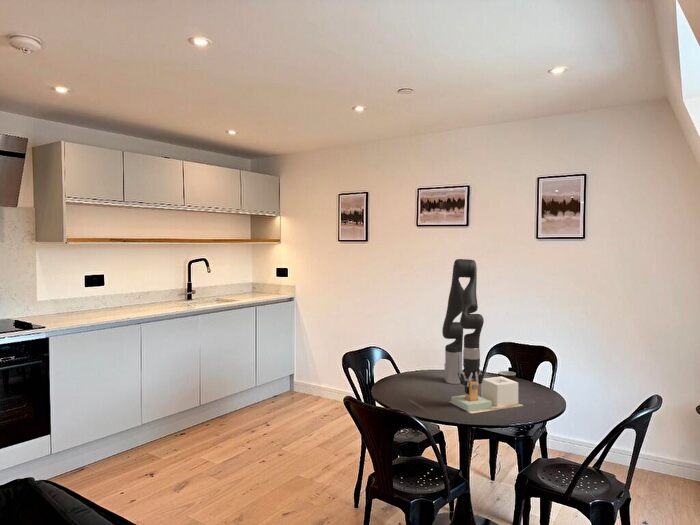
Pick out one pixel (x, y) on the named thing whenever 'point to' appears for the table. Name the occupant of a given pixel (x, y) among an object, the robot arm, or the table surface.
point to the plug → (472, 391)
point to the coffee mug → (507, 375)
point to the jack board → (494, 408)
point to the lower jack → (471, 403)
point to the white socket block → (500, 391)
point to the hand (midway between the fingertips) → (471, 393)
